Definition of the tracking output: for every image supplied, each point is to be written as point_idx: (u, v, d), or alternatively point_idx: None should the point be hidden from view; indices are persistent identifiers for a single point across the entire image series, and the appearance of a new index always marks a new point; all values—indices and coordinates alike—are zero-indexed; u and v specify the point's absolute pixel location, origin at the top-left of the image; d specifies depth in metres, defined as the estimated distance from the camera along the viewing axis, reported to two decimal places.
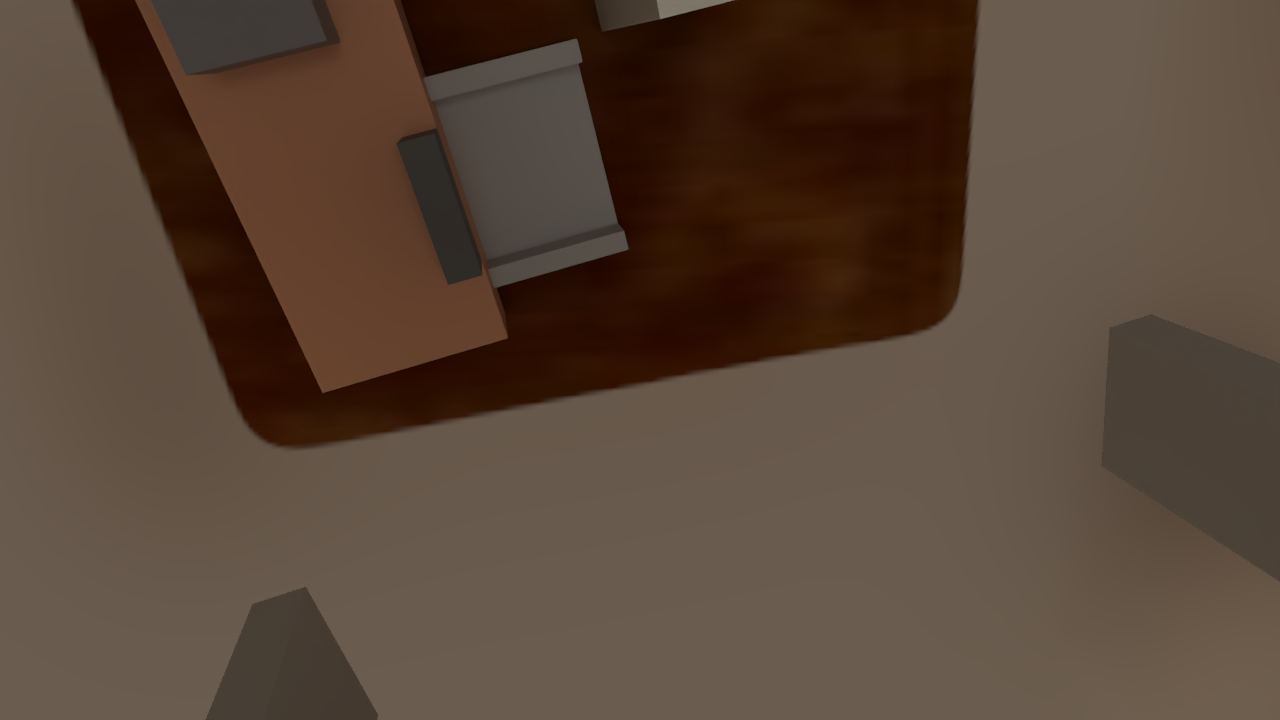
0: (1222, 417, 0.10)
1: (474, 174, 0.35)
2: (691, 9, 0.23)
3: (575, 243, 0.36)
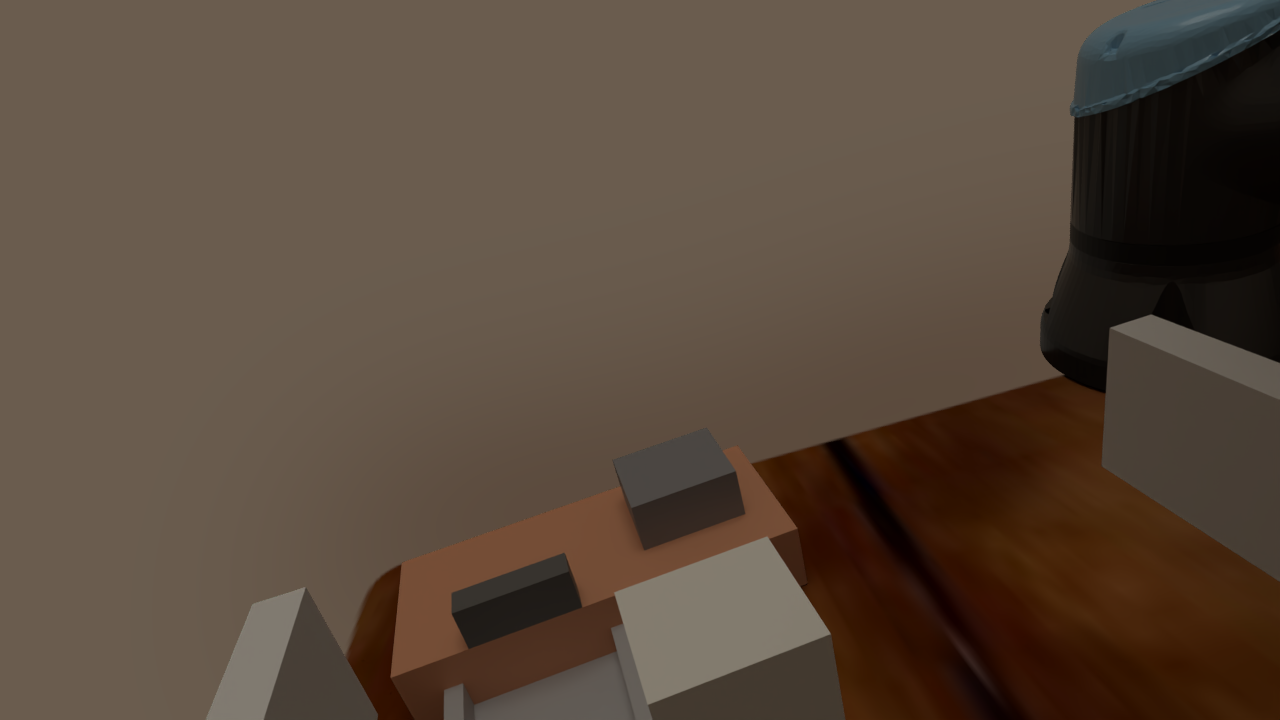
0: (1222, 417, 0.10)
1: (554, 686, 0.37)
2: (621, 612, 0.25)
3: None
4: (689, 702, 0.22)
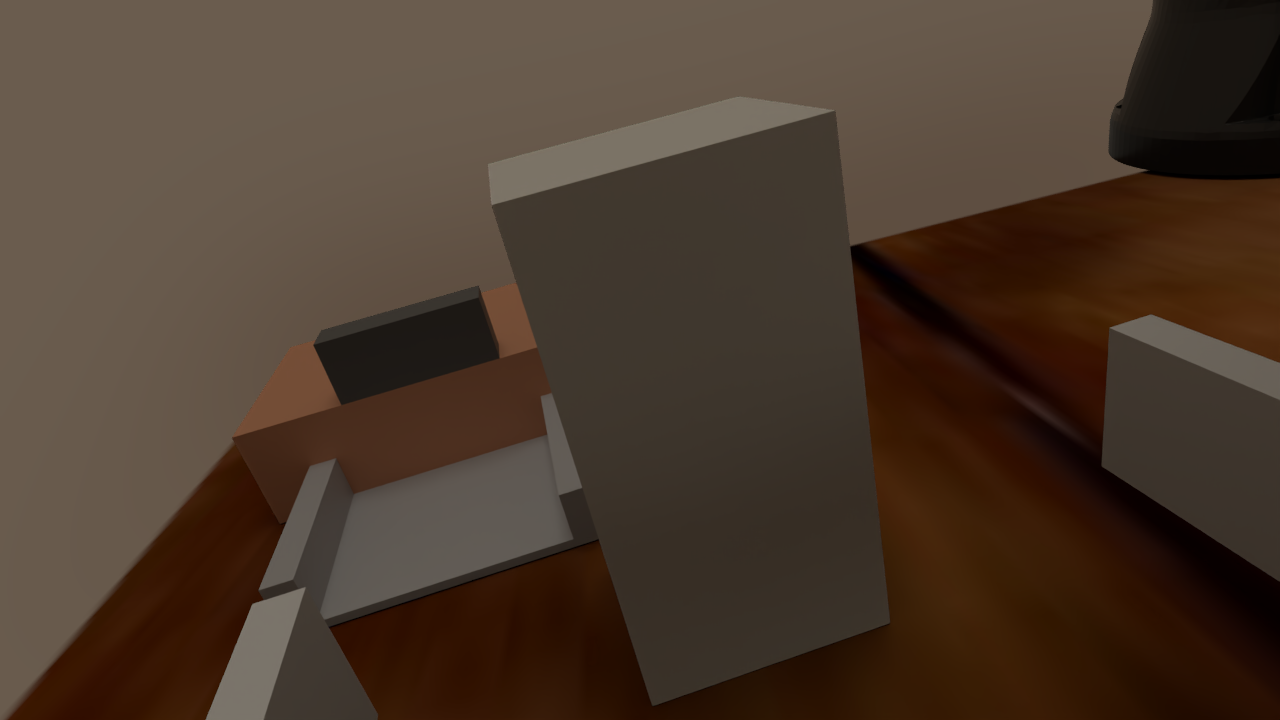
0: (1221, 417, 0.10)
1: (461, 471, 0.28)
2: (490, 169, 0.15)
3: (313, 532, 0.23)
4: (574, 218, 0.12)
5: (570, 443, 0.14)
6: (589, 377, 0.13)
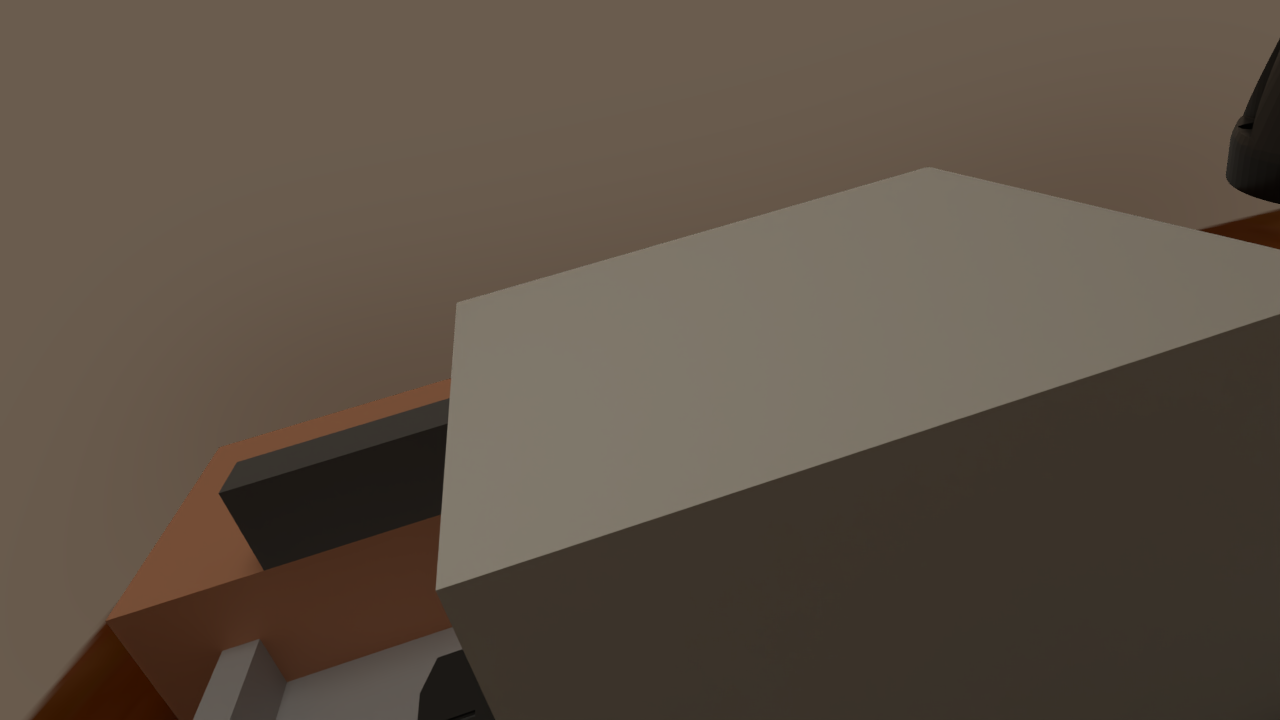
0: None
1: (436, 651, 0.20)
2: (458, 331, 0.07)
3: None
4: (676, 593, 0.04)
5: None
6: None
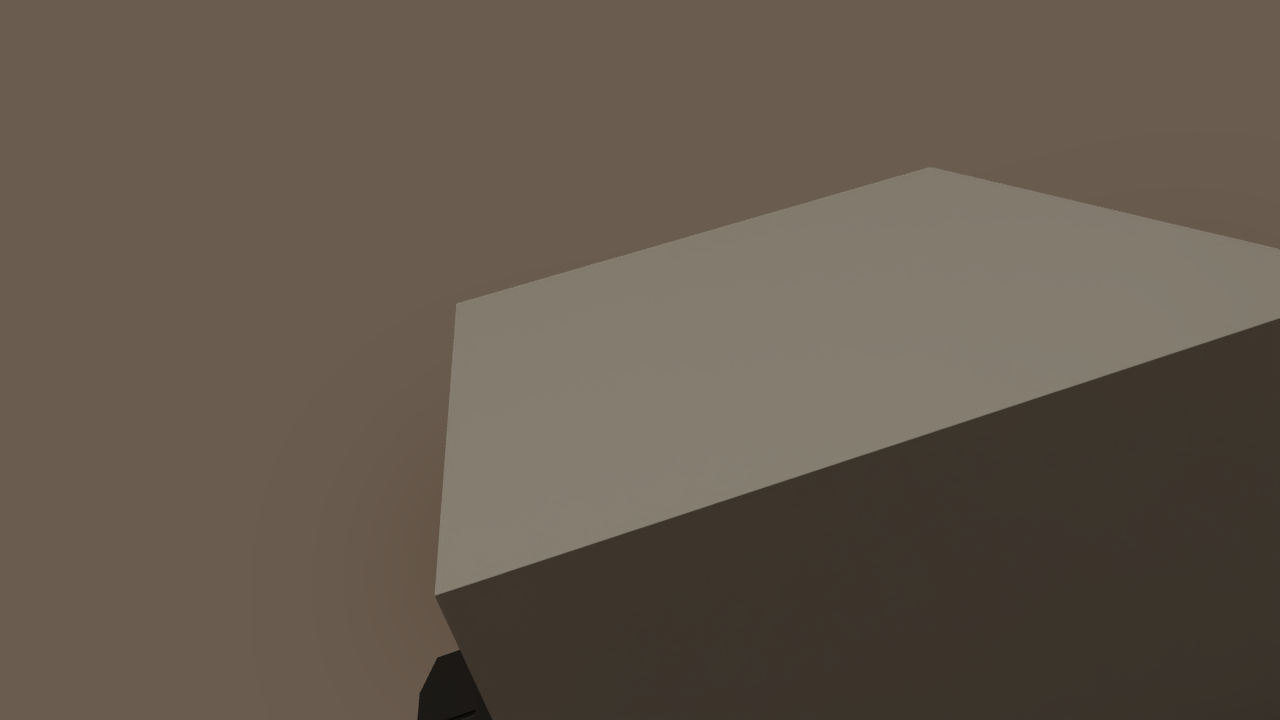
0: None
1: None
2: (457, 332, 0.07)
3: None
4: (678, 599, 0.04)
5: None
6: None
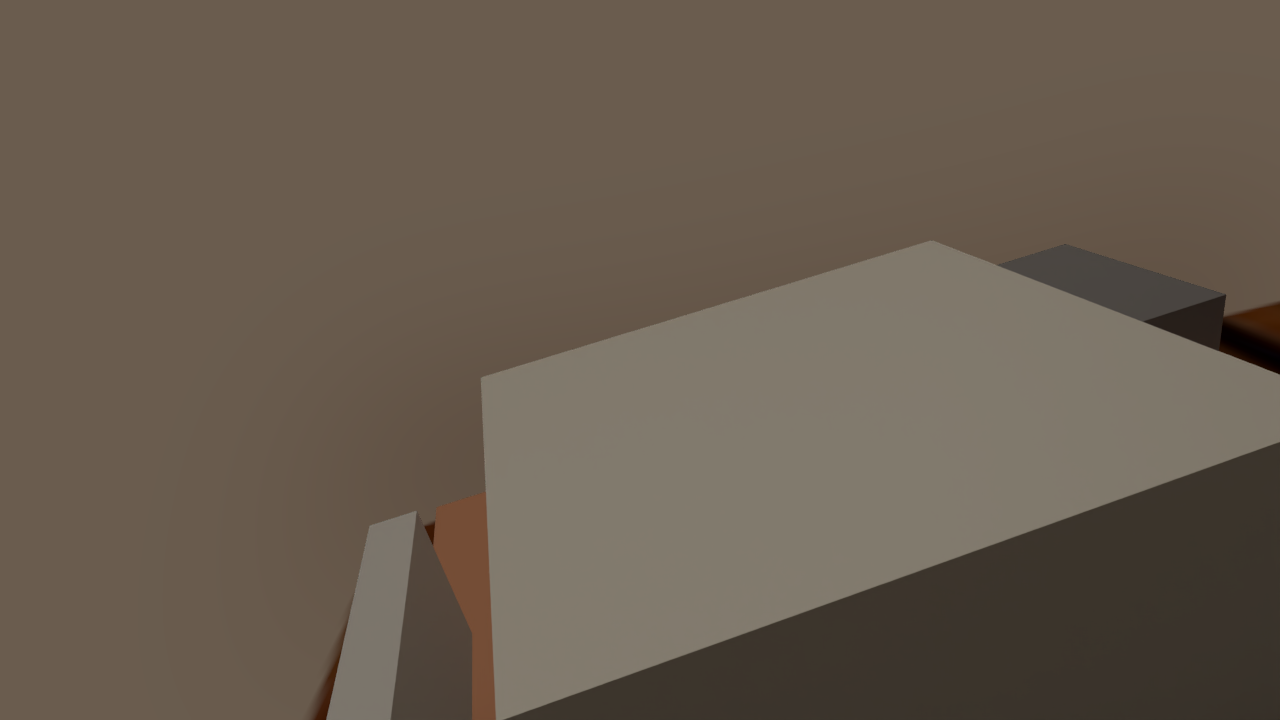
0: None
1: None
2: (486, 414, 0.08)
3: None
4: (714, 714, 0.05)
5: None
6: None
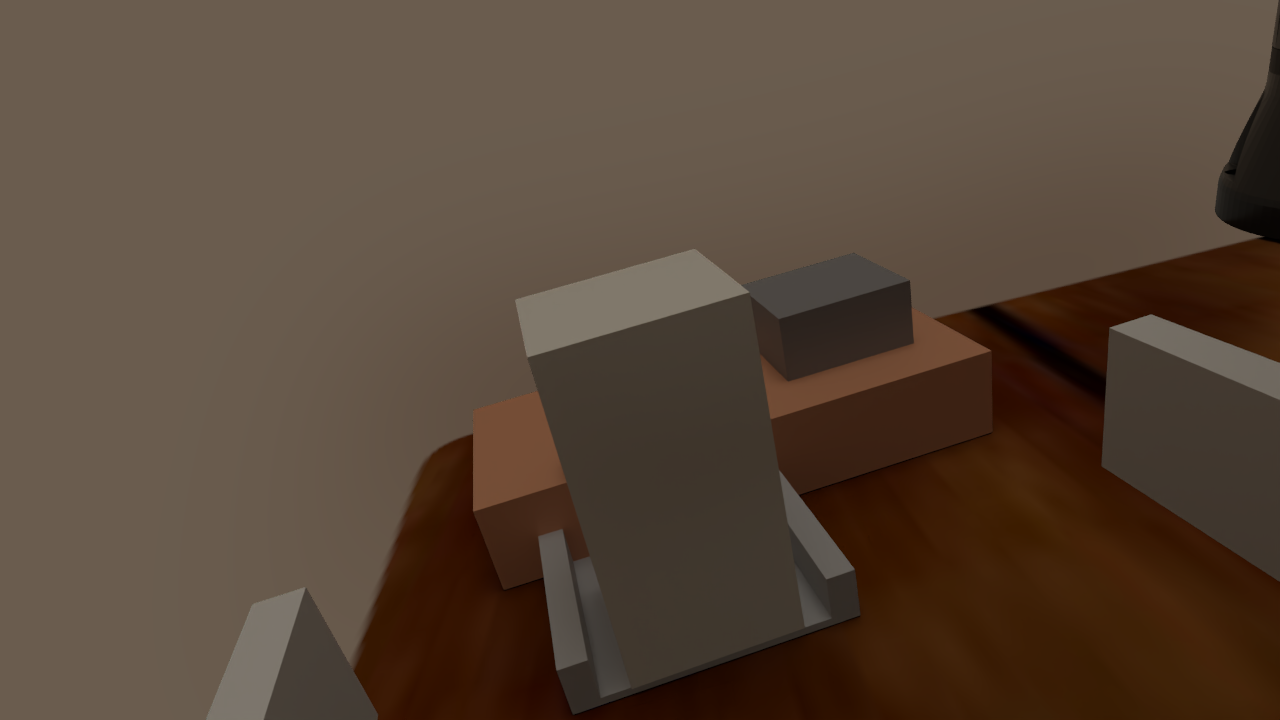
0: (1222, 416, 0.10)
1: None
2: (518, 308, 0.22)
3: (578, 608, 0.25)
4: (580, 363, 0.18)
5: (575, 505, 0.20)
6: (589, 462, 0.20)
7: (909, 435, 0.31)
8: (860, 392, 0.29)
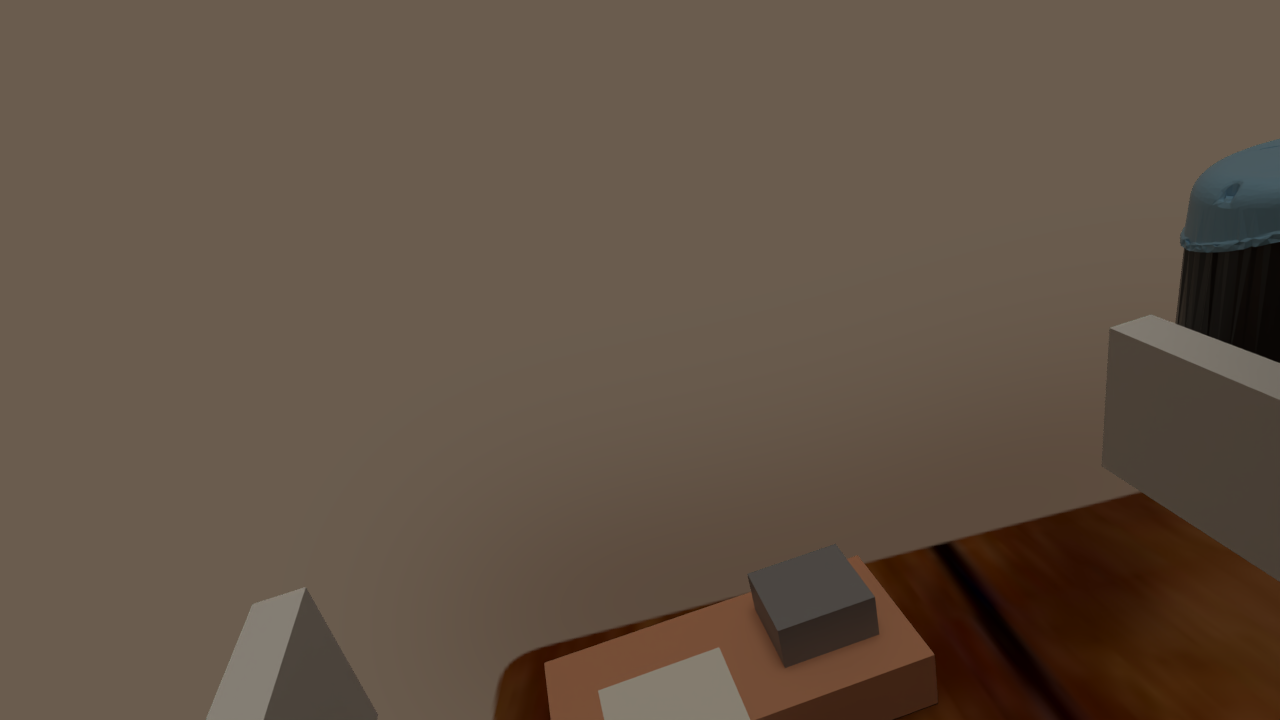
0: (1222, 416, 0.10)
1: None
2: (602, 708, 0.32)
3: None
4: None
5: None
6: None
7: (875, 711, 0.41)
8: (837, 690, 0.40)
